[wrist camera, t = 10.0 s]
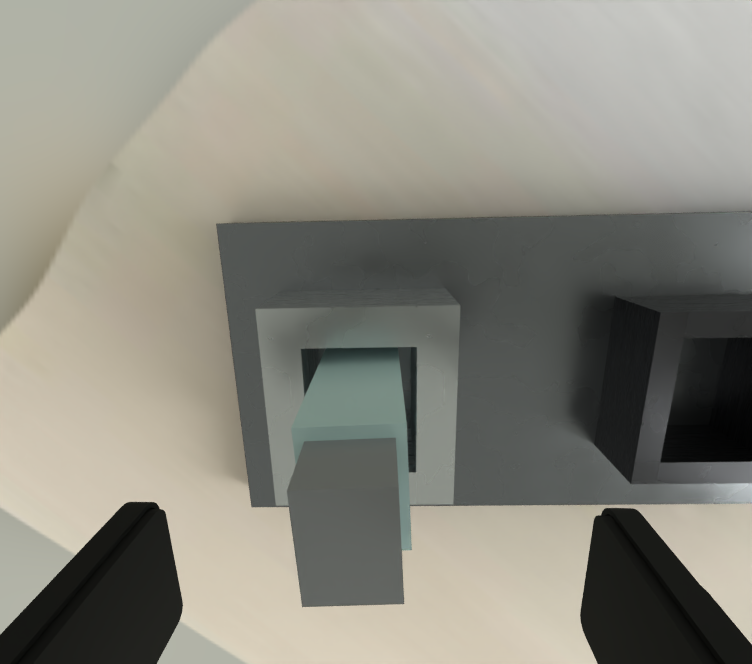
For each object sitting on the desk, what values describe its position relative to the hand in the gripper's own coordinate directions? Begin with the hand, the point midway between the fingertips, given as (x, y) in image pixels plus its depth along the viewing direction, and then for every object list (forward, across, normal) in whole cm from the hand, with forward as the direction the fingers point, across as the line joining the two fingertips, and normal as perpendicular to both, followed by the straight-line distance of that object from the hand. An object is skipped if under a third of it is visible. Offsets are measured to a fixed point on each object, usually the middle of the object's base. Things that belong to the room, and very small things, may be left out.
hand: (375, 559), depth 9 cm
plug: (+10, +1, 0) cm, 10 cm away
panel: (+12, -6, 0) cm, 13 cm away
